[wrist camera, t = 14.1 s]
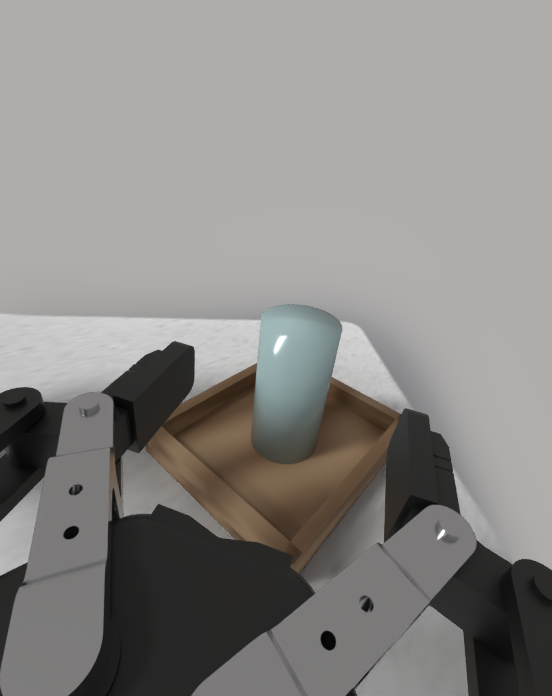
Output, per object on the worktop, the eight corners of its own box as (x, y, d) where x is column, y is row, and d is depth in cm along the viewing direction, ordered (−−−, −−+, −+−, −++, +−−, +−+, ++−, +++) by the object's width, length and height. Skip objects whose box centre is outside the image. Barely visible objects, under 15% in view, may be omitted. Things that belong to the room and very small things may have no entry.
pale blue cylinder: (242, 455, 30) (251, 333, 24) (259, 409, 35) (270, 299, 29) (312, 471, 29) (340, 349, 23) (318, 422, 34) (343, 312, 28)
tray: (145, 449, 30) (142, 424, 29) (278, 370, 43) (281, 349, 41) (286, 590, 22) (292, 565, 21) (401, 441, 34) (410, 419, 33)
